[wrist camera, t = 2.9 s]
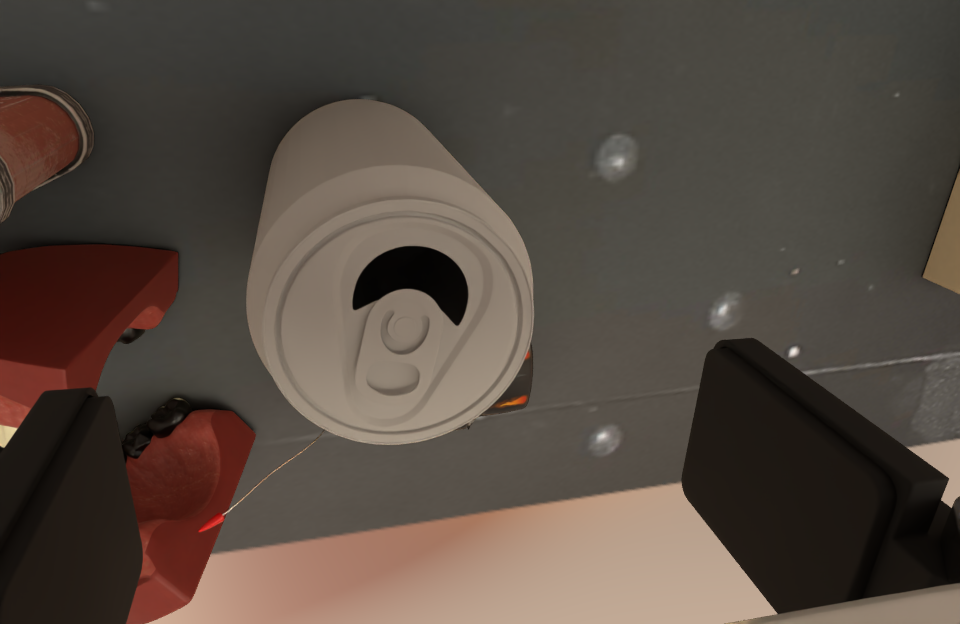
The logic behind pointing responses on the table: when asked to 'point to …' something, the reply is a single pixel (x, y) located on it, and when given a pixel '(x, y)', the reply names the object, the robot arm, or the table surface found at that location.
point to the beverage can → (384, 279)
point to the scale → (947, 246)
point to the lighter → (38, 139)
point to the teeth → (78, 364)
